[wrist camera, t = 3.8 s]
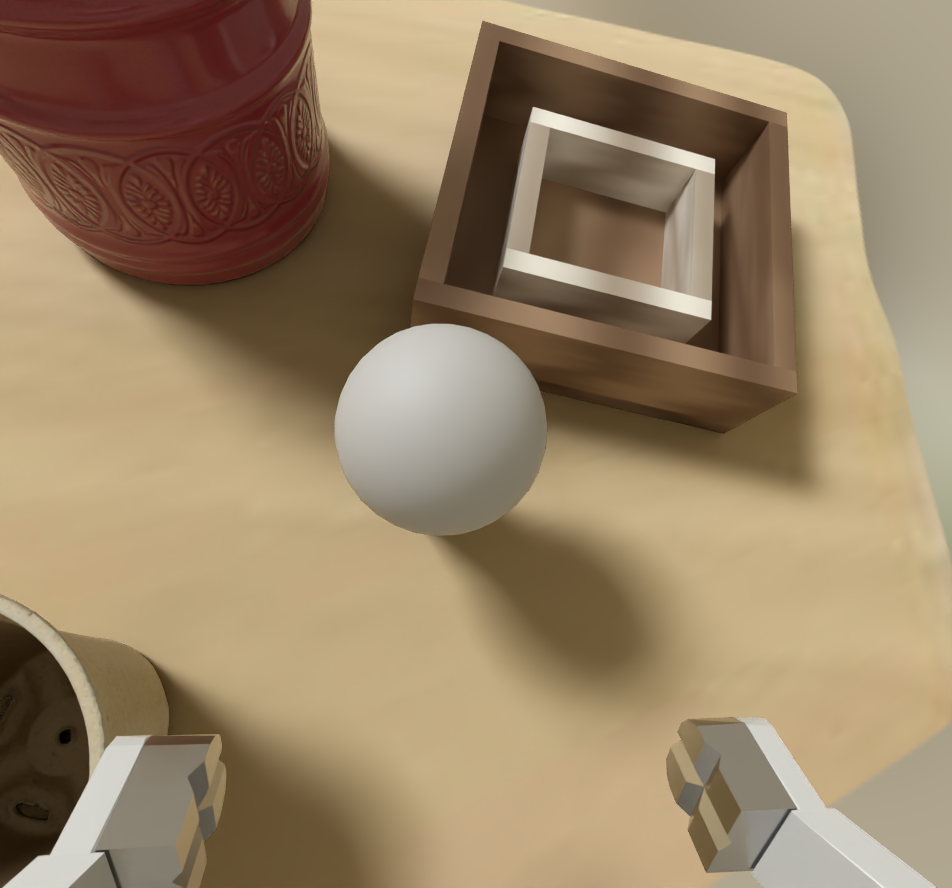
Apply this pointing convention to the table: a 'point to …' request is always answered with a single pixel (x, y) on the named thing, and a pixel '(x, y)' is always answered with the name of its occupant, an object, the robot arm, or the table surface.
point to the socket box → (617, 234)
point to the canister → (166, 129)
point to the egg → (440, 429)
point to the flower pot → (61, 723)
